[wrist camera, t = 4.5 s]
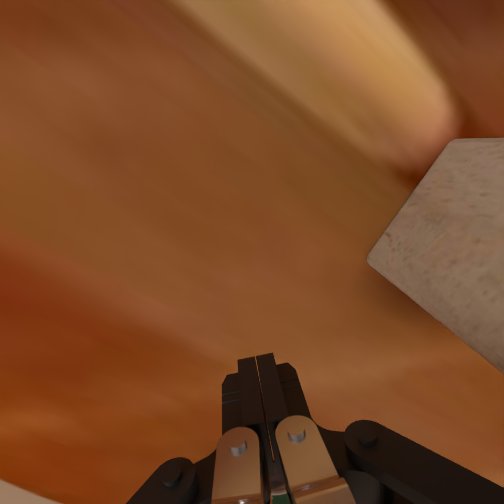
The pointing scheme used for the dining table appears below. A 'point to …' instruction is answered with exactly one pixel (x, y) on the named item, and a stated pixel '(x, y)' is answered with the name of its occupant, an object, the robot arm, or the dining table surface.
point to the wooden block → (454, 244)
